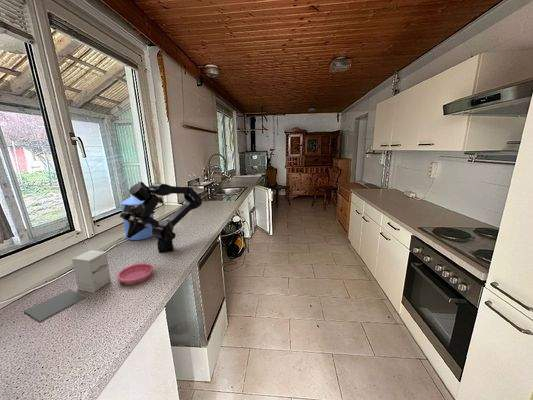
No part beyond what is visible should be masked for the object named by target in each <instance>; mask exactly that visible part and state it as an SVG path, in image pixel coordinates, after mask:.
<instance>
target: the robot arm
mask: <svg viewBox="0 0 533 400" xmlns="http://www.w3.org/2000/svg"><path fill="white" fill-rule="evenodd" d="M128 192H129V194H130V195H131V196H134V197H136V198H137V199H138V200H140V201H143V203H142V204H141V205H138V204H136V205H135V206H131V205H125V207H124V210H123V213H122V212H121V213H120V214H119V217H120V218H121V219H122V220H123V219H124V220H126V221H128V222H129V229H128V234H127V238H131V237H132V236H134V235H135V234H137V233H138V232H140V231H142V230H143V229H145V228H147V227H146V226H147V224H150V225H152V234H153V237H154V238H155V239H157V240H158V241H157V243H156V245H157V251H158V253H159V254H161V253H167V252H174V243H173V240H174V239H176V235H177V234H176V233H175V232H174V227H175V226H176V225H178V223H179V222H181V220H183V218H184V217H186V215H187V214H189V212H191V211H192V210H195V209H197V208H199V207H200V206H201V205H202V204H203V200H202V199H203V198H202V197H201V196H200V194H199V193H197V192H196V191H195V190H194V189H193V187H191V186H186V185H185V186H178V185H177V186H176V185H175V186H174V185H170V184H167V183H161V182H153V183H152V184H151V185H150V186H149V185H148V186H147V185H146V184H145V183H144V182H143V181H138V182H137V183H136V184H133V185H132V186H131V187H130V188H129V190H128ZM173 194H177V195H178V194H183V198H184V202H183V204H182V205H181V206H180V208H178V209H177V210H176V211H175V212H174V213H173V214H172V215H170V217H168V218H167V219H166V220H163V219H159V220H156V219H155V218H152V217H150V216H151V214H153V215H154V214H155V213H156V212H155V209H156V207H157V206H158V204H164V200H163V198H162V197H164V196H169V195H173ZM159 196H162V197H159ZM127 212H128V213H127ZM130 213H131V214H130ZM133 215H134V216H133ZM137 219H138V220H137ZM127 238H126V239H127Z"/></svg>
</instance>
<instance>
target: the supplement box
mask: <svg viewBox="0 0 533 400" xmlns="http://www.w3.org/2000/svg"><path fill="white" fill-rule="evenodd" d="M108 260H109V259H108V255H107V251H102V250H93V249H91V250H89V251H87V252H84V253H82V254H79V255H77V256H75V257H73V258H72V259H71V262H72V266H73V272H74V277H75V282H76V286H77V290H79V291H85V292H91V293H96V291H97V290H99V289H101V288H102V287H104V286H105V285H106V284H108V283H110V282H112V280H111V273H110V268H109V266H110V265H109V261H108Z"/></svg>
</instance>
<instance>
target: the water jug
mask: <svg viewBox="0 0 533 400" xmlns="http://www.w3.org/2000/svg"><path fill="white" fill-rule="evenodd" d="M142 203H143V201H140V200H138V199H137V198H136V197H134V196H133V195H131V197H128V198H127V199H124V200H123V201H122V202H120V208H121V211H122V212H121V213H123V210H124V207H125V205H131V206H135V205H136V204H138V205H141V204H142ZM127 213H128V212H127ZM130 214H131V213H130ZM133 216H134V215H133ZM150 217H152V218H154V214H151V216H150ZM154 219H155V218H154ZM137 220H138V219H137ZM122 221H123V225H124V227H123V228H124V233H125V234H124V235H125V239H127V240H129V241H142V240H146V239H148V238H149V239H150V238H152V237H154V235H153V234H152V225H150V224H147V226H146V227H147V228H145V229H143V230H142V231H140V232H138V233H137V234H135V235H134V236H132V237H131V238H127V234H128V229H129V222H128V221H126V220H124V219H122Z"/></svg>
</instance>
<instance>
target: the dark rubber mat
mask: <svg viewBox="0 0 533 400" xmlns="http://www.w3.org/2000/svg"><path fill="white" fill-rule="evenodd" d="M86 298H87V297H86V296H85V295H83V294H80V293H78V292H76V291H75V290H71V289H67V290H65V291H63V292H60V293H59V294H57V295H55V296H52V297H51V298H48V299H46V300H44V301H42V302H40V303H38V304H36V305H33V306H31V307H30V308H27V309H26V310H23V312H24V313H25V314H27V315H28V316H30V317H31V318H33V319H34V320H36V321H37V322H39V323H42V322H44V321H45V320H47V319H49V318H51V317H53V316H54V315H57V314H59V313H60V312H62V311H64V310H66V309H68V308H70V307H72V306H73V305H75V304H77V303H79V302H81V301H83V300H85V299H86Z"/></svg>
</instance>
